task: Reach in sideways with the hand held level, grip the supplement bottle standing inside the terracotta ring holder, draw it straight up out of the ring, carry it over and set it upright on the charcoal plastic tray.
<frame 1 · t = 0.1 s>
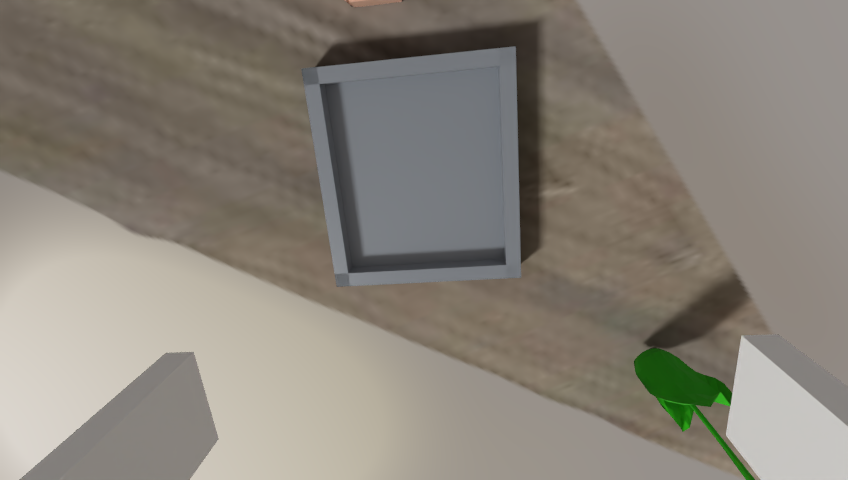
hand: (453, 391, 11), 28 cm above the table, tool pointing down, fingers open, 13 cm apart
flower: (649, 348, 41), on the table
tray: (419, 173, 37), on the table
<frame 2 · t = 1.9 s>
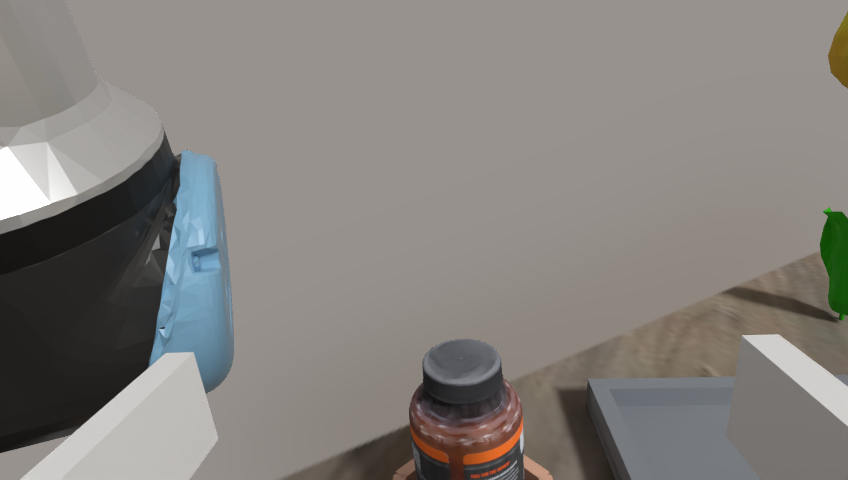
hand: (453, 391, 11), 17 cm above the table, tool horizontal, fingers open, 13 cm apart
flower: (839, 320, 42), on the table
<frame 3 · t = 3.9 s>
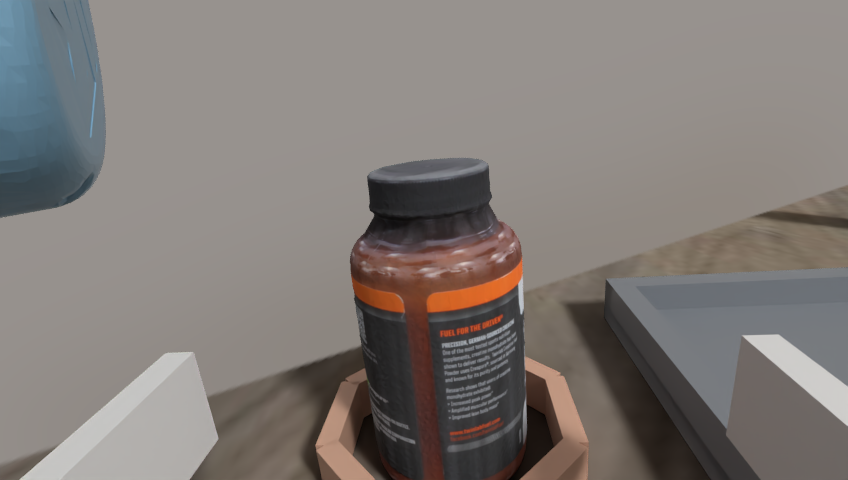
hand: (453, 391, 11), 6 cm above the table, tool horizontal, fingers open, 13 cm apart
supplement bottle: (452, 449, 18), resting in holder ring
holder ring: (451, 444, 18), on the table
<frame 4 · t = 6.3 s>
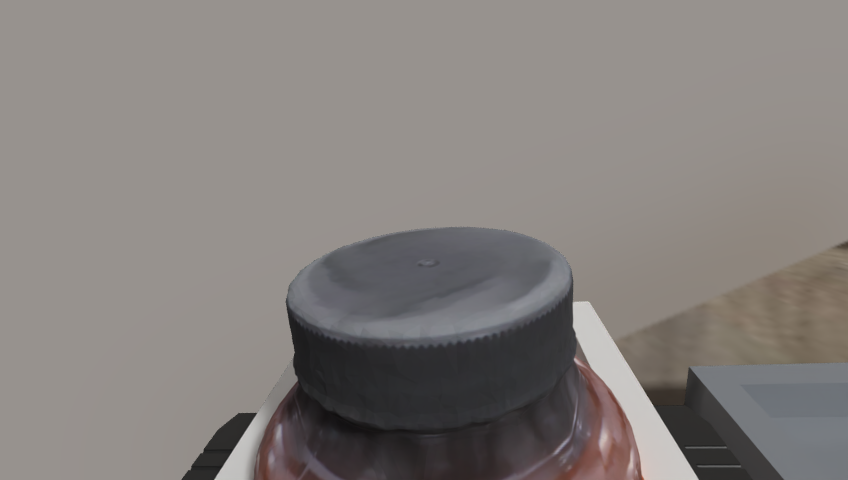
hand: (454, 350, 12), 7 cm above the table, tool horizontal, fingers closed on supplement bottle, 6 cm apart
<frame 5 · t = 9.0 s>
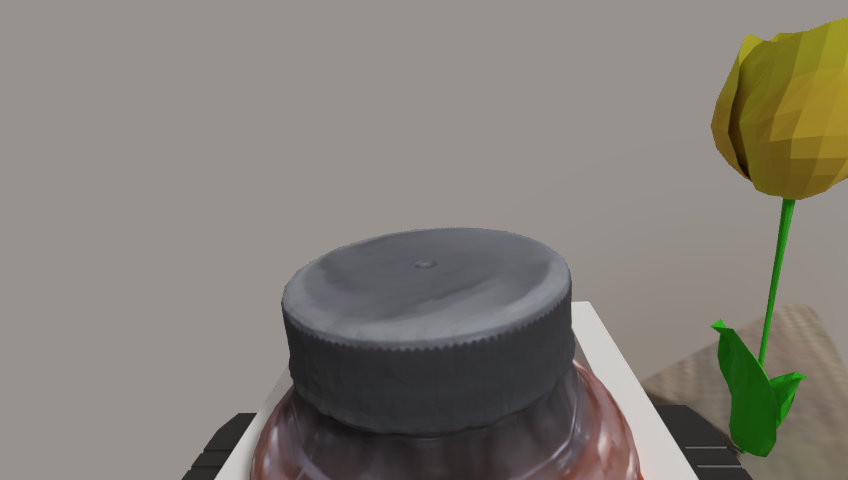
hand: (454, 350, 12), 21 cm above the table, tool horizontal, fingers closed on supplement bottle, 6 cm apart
flower: (741, 453, 33), on the table
when the fingers open (9 cm above the table, at t = 12.1 s): supplement bottle drops 2 cm, resting on tray.
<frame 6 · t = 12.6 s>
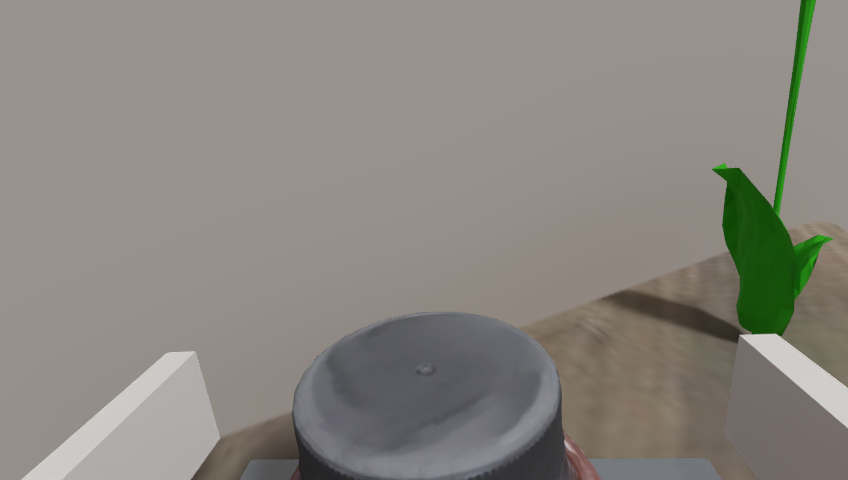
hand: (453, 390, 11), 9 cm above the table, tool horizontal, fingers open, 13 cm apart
flower: (751, 342, 27), on the table
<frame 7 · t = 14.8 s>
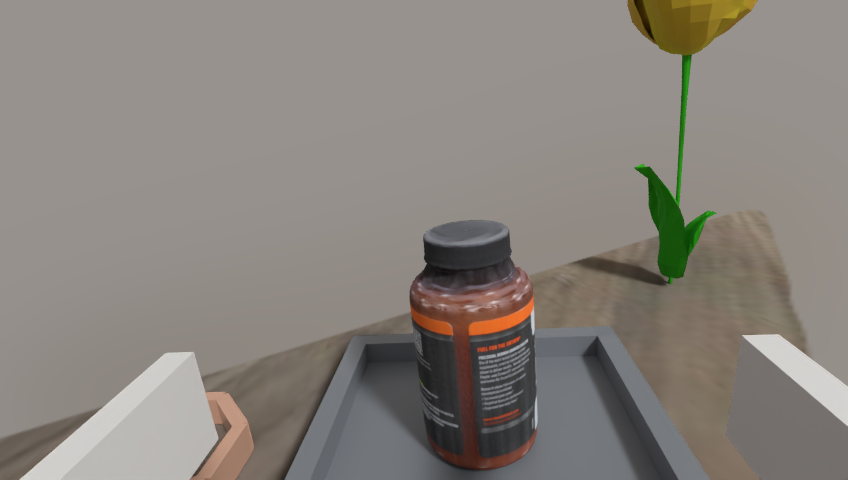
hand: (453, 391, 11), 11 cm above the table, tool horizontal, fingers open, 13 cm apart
flower: (668, 284, 41), on the table
tray: (484, 445, 24), on the table
supplement bottle: (481, 435, 23), point 1 cm above the table, touching tray
holder ring: (155, 475, 24), on the table
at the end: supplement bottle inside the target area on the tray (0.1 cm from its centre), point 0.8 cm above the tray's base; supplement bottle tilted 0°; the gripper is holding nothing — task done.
